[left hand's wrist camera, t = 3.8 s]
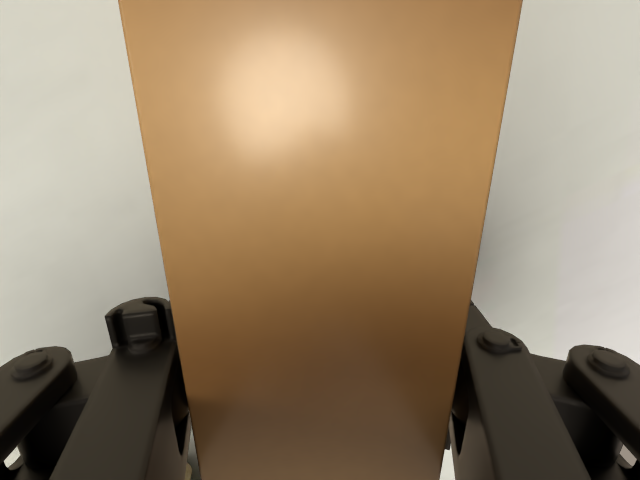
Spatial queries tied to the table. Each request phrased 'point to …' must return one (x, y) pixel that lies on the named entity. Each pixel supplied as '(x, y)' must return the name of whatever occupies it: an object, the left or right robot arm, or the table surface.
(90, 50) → the table surface
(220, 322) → the bar
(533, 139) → the table surface
